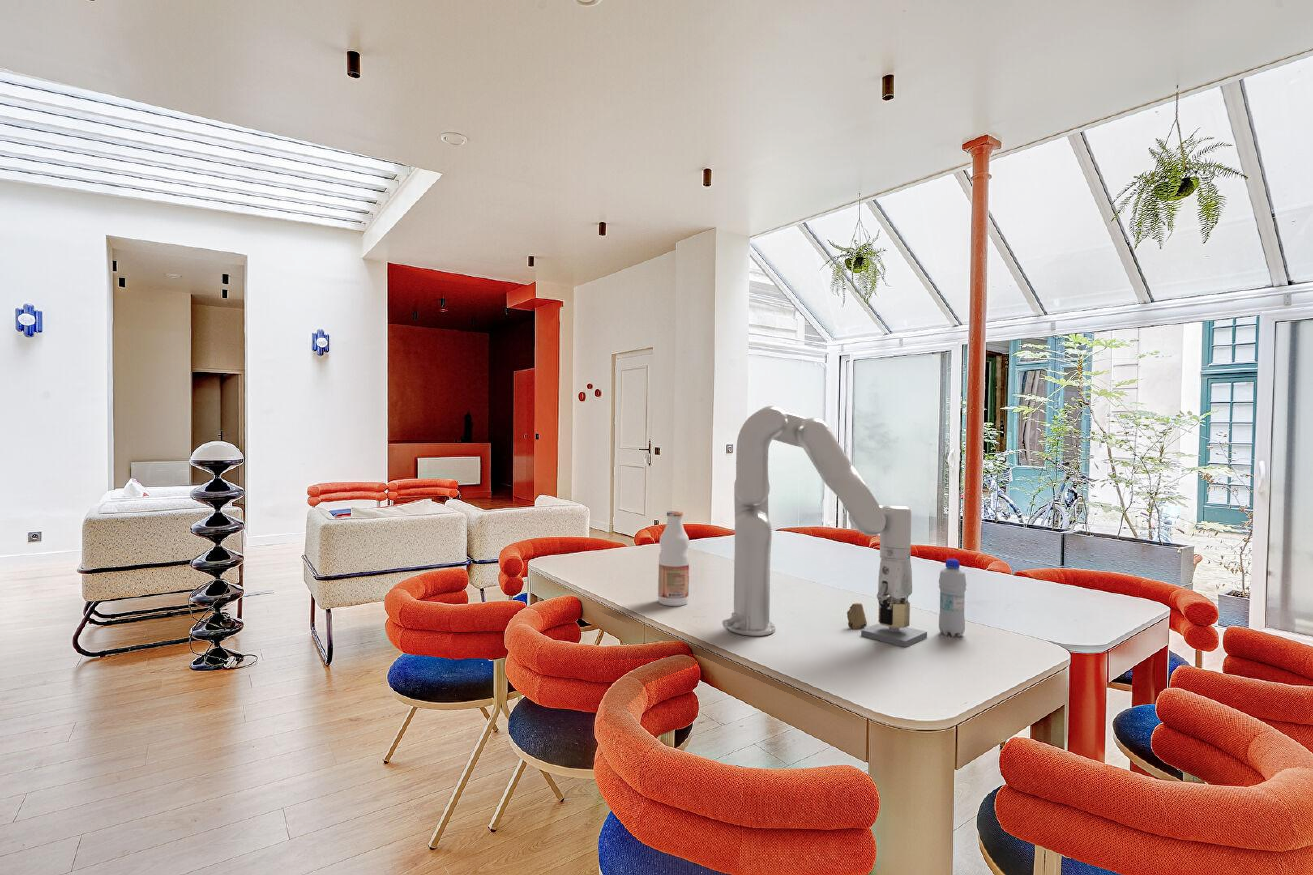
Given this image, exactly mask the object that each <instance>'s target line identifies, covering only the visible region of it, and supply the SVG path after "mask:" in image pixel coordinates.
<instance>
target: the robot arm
mask: <svg viewBox="0 0 1313 875" xmlns="http://www.w3.org/2000/svg"><path fill="white" fill-rule="evenodd" d="M833 433H834V432H832V430H831V429H830V427H829V425H828V424H827V423H826V422H825V421H824V420H822V419H821V418H817V417H811V418H809V417H804V416H800V415H797V414H794V413H790V412H786V411H785V410H783V409H782V408H780V407H779V406H775V405H769V406H764V407H763V408H761V409H759V410H757V411H755V412H754V413H753V414H751V415H750V416H749V417H748V418H747V419H746V420H745V421H744V423H743V424H742V426H741V428H740V430H739V433H738V436H737V439H736V452H735V454H736V459H735V473H736V474H735V481H734V482H733V483H734V484H733V485H734V488H733V490H734V494H733V496H734V497H733V500H734V553H733V554H734V558H733V561H734V563H733V564H734V567H733V571H734V573H733V575H734V576H733V577H734V578H733V612H731V617H730V618H726V619H724V620H722V623H721V624H722V627H723V628H727V629H728V630H729V631H730V632H732V633H735V634H738V635H741V636H742V635H743V636H753V637H756V636H758V637H760V636H761V637H762V636H767V635H771V634H773V633H774V632H775V631H776V625H775V624H774V623H773V622H771V621H770V615H771V613H770V608H771V606H770V605H771V604H770V603H771V602H770V601H771V599H770V598H771V551H772V550H771V549H772V538H773V537H772V536H773V533H772V524H771V523H770V519H769V495H770V494H769V493H770V488H771V485H770V482H769V449H770V444H771V442H772V440H773V441H777V442H780V443H783V444H786V445H790V446H794V447H799V448H802V449H803V450H804V452H805V453H806V455H807V457H808V459H810V461H811V464H812V465H813V466H814V468H815V470H816V472H817V473H818V474H819V477H820V478H821V480H822V481H823V482H824V483H825V485H826V486H827V488H829V489H830V490H831V491H832V492H833V493H834V494H835V496H837V498H838V499H839V501H840V502H841V503H842V505H843V506H844V508H845V509H846V511H847V513H848V521H849V524H850V525H851V526H852V527H853V528H854V529H855V530H857V531H858V532H860V533H861V534H863V535H865V536H868V537H873V536H877V535H879V559H880V563H879V570H878V571H879V572H878V580H877V581H878V582H877V583H878V584H877V585H878V586H877V588H878V590H877V594H876V598H877V601H878V608H879V607H880V623H883V624H887V625H892V624H893V609H891V608H892V604H893V600H898V599H904V600H907V601H908V602H909V596H911V595H912V593H913V573H912V572H913V571H912V563H911V554H912V553H911V552H912V551H911V548H912V547H911V546H912V545H911V542H912V511H911V509H910V508H909V507H908V506H905V505H904V506H903V505H896V504H895V505H894V504H891V505H890V504H889V505H888V504H887V505H879V502H878V501H877V500H876V498H875V496H874V495H873V493H872V492H871V491H870V488H869V487H868V485H866V483H865V482H864V480H863V479H862V477H861V475H860V474H859V473H858V471H857V469H856V468H855V467H854V465H853V464H852V462H851V461H850V459H849V458H848V456H847V455H846V453H845V451H844V450H843V447H841V445H840V443H839V442H838V440H837V438H836V436H835V435H834V434H833ZM889 596H890V597H889ZM885 599H887V600H889V603H888V602H887V600H885ZM879 604H880V605H879Z"/></svg>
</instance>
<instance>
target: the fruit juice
mask: <svg viewBox="0 0 1313 875" xmlns="http://www.w3.org/2000/svg"><path fill="white" fill-rule="evenodd" d="M683 513H684V512H682V511H676V510H674V511H670V510H669V511H667V512H666V517H667V520H666V524H665V528H664V530H663V532H662V533H661V534H660V537H659V547H660V553H659V556H658V582H657V585H658V586H657V588H658V589H657V590H658V592H657V593H658V594H657V601H658V603H659V604H661V605H663V606H669V607H672V606H673V607H680V606H685V605H687V604H688V603H689V596H690V595H689V592H690V590H689V587H690V586H689V584H690V555H689V553H688V548H689V544H690V540H689V539H690V538H689V536H688V534H687V532H686V530H685V528H684V524H683V520H682V519H683Z"/></svg>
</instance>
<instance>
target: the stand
mask: <svg viewBox="0 0 1313 875" xmlns="http://www.w3.org/2000/svg"><path fill="white" fill-rule="evenodd" d="M888 596H889V597H890V595H888ZM893 603H900V599H898V600H893ZM860 636H862V637H865V638H869V639H872V640H877V641H880V642H884V643H888V644H892V645H895V646H899V647H902V648H908V647H909V646H912V645H914V644H916V643H918V642H920V641H922V640H926V639H927V638H928V631H925V630H921V629H918V628H917V629H916V628H913V627H910V626H908V627H905V628H892V627H888V626H884V625H881V624H880V623H879V622H878V623H876V624H874V625H871V626H869V627H864V628H863V629H861V631H860Z"/></svg>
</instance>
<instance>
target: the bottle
mask: <svg viewBox="0 0 1313 875" xmlns="http://www.w3.org/2000/svg"><path fill="white" fill-rule="evenodd" d="M966 578H967V577H966V573H965V571H963V570H962V569H960V561H959V560H958V559H955V558H948V559H946V561H945V568H943V569H941V570H940V573H939V580H938V584H939V585H938V588H939V595H940V596H939V616H938V629H939V632H940V633H941V634H944V635H945V636H948V635H949V633H950V635H951V637H952V638H953V637H955V636H957V637H961V636H963V635H964V633H965V629H966V621H965V620H966V619H965V618H966V616H965V595H966V591H967V580H966Z"/></svg>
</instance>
